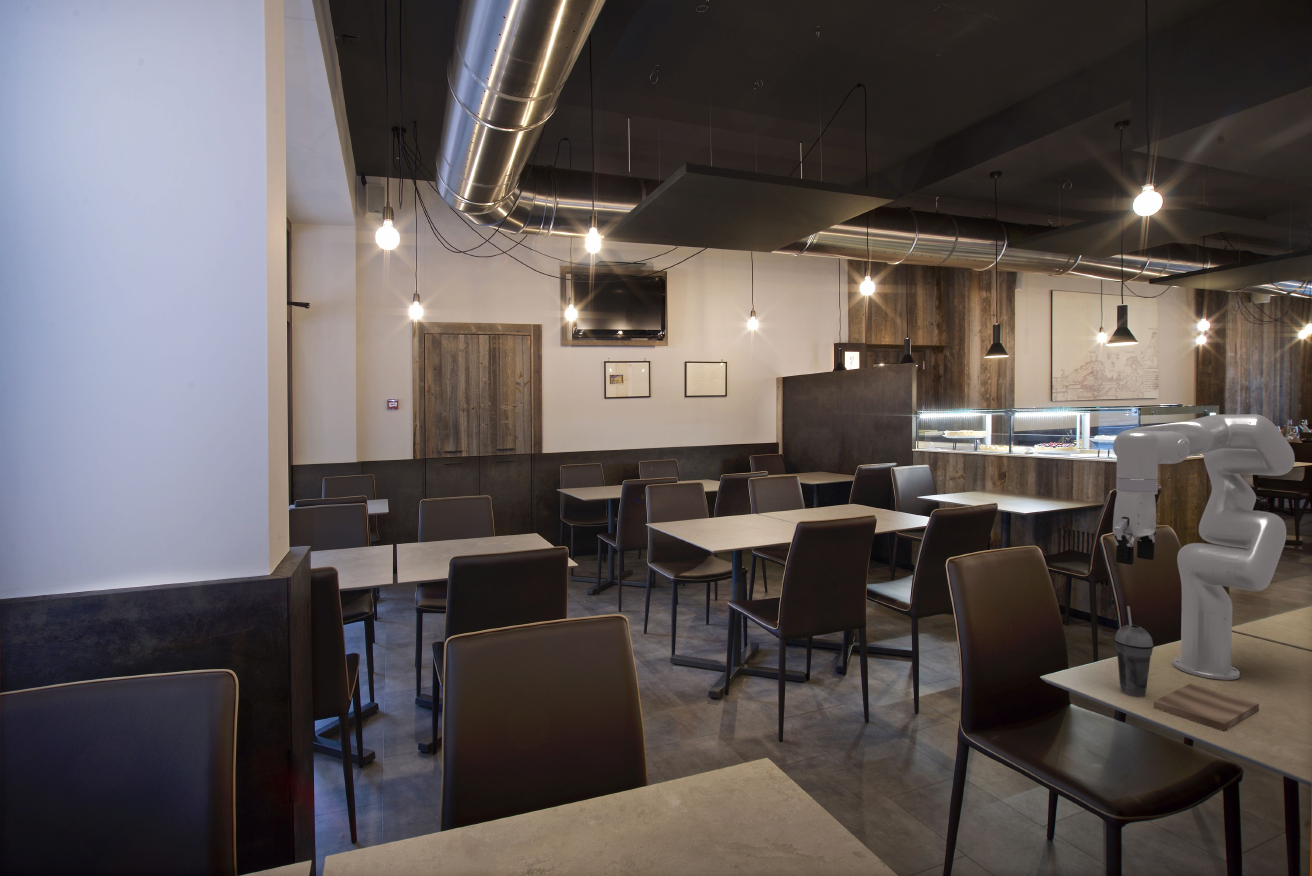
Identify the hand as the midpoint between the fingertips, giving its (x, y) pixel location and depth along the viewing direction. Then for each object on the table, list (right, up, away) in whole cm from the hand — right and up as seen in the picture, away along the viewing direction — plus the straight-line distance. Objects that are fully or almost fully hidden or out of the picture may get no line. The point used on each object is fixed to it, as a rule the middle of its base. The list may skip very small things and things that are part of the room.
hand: (1135, 561), depth 144 cm
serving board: (+10, -31, -7) cm, 33 cm away
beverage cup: (0, -31, +1) cm, 31 cm away
